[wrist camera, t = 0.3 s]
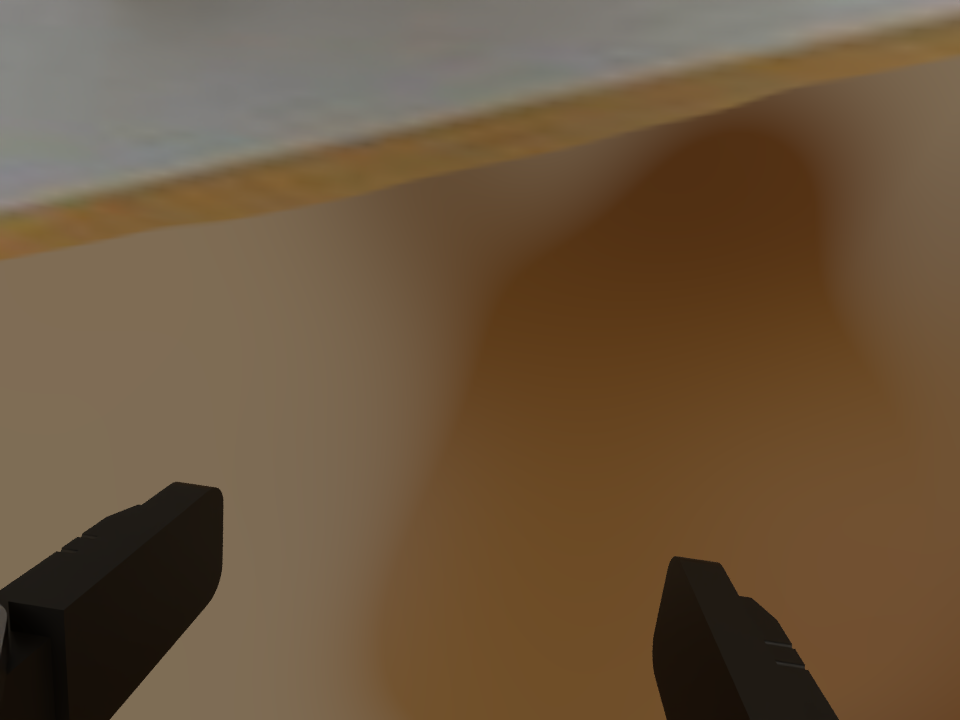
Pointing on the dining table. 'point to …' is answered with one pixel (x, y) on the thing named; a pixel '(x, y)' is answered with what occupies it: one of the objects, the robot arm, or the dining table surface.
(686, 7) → the dining table surface
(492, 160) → the dining table surface
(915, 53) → the dining table surface
